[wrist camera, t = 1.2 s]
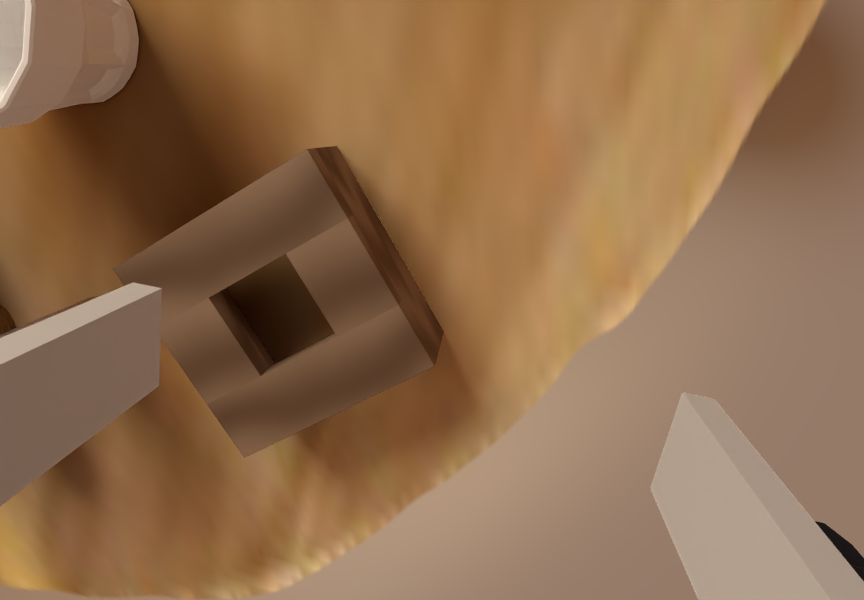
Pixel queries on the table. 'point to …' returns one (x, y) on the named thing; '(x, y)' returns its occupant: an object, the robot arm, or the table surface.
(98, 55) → the cup
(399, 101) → the table surface
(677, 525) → the robot arm
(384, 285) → the bracket
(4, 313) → the medium pin
